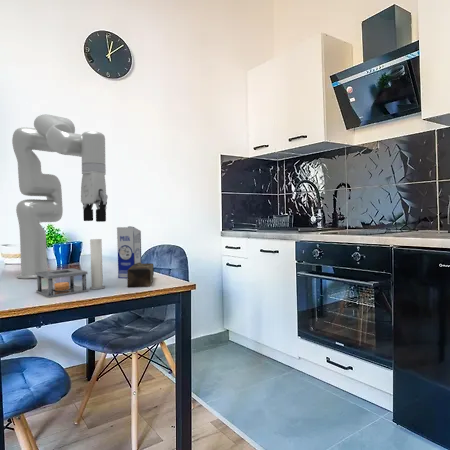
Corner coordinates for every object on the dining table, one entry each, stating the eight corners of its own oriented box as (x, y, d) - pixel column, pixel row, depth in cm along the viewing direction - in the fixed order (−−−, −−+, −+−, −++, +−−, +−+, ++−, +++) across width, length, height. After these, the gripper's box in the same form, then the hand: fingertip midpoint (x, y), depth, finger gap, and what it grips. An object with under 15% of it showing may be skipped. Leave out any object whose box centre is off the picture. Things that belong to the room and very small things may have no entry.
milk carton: (117, 278, 148) (116, 226, 147) (126, 275, 154) (125, 226, 154) (134, 278, 146) (133, 226, 146) (142, 275, 153) (141, 225, 152)
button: (52, 289, 122) (52, 283, 122) (66, 287, 125) (66, 281, 125) (57, 291, 119) (57, 284, 119) (71, 289, 122) (71, 283, 122)
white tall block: (89, 287, 128) (88, 239, 127) (100, 285, 130) (98, 238, 130) (94, 288, 125) (93, 239, 124) (104, 286, 127) (103, 239, 127)
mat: (86, 288, 127) (86, 287, 127) (101, 286, 131) (101, 285, 131) (93, 290, 124) (93, 289, 124) (107, 288, 127) (107, 286, 127)
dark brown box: (154, 278, 147) (154, 261, 147) (150, 287, 128) (150, 268, 128) (133, 278, 146) (133, 261, 146) (126, 288, 127) (126, 269, 127)
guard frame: (36, 292, 123) (35, 272, 123) (73, 286, 131) (72, 268, 131) (49, 297, 114) (48, 276, 114) (88, 291, 122) (87, 271, 122)
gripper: (72, 171, 130) (73, 220, 131) (94, 167, 117) (94, 222, 118) (93, 172, 135) (94, 220, 136) (116, 168, 123) (117, 221, 123)
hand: (94, 221), depth 127 cm, fingers open, 9 cm apart
